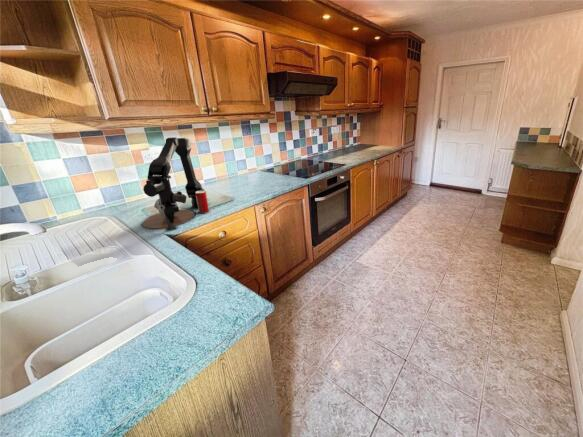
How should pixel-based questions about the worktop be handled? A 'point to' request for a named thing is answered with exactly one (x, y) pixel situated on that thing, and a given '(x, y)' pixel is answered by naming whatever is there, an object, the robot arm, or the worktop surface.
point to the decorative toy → (160, 208)
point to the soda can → (202, 201)
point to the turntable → (161, 222)
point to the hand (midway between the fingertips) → (171, 221)
